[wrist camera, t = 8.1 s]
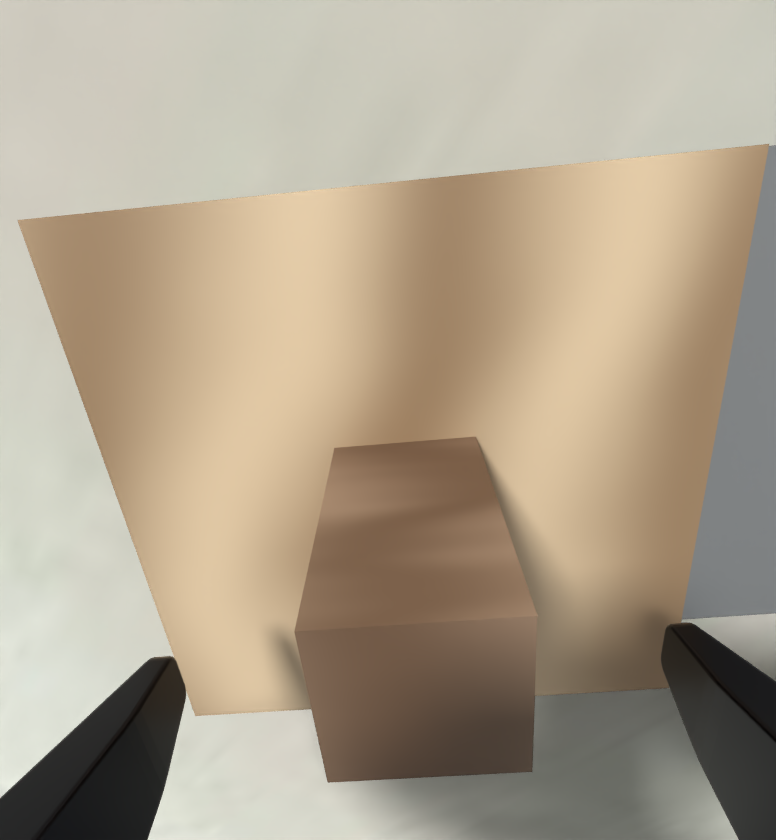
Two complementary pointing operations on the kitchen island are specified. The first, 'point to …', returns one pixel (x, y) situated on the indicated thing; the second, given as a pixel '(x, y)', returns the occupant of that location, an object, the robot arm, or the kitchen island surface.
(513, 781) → the kitchen island surface
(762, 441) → the rubber mat
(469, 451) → the oak lid
